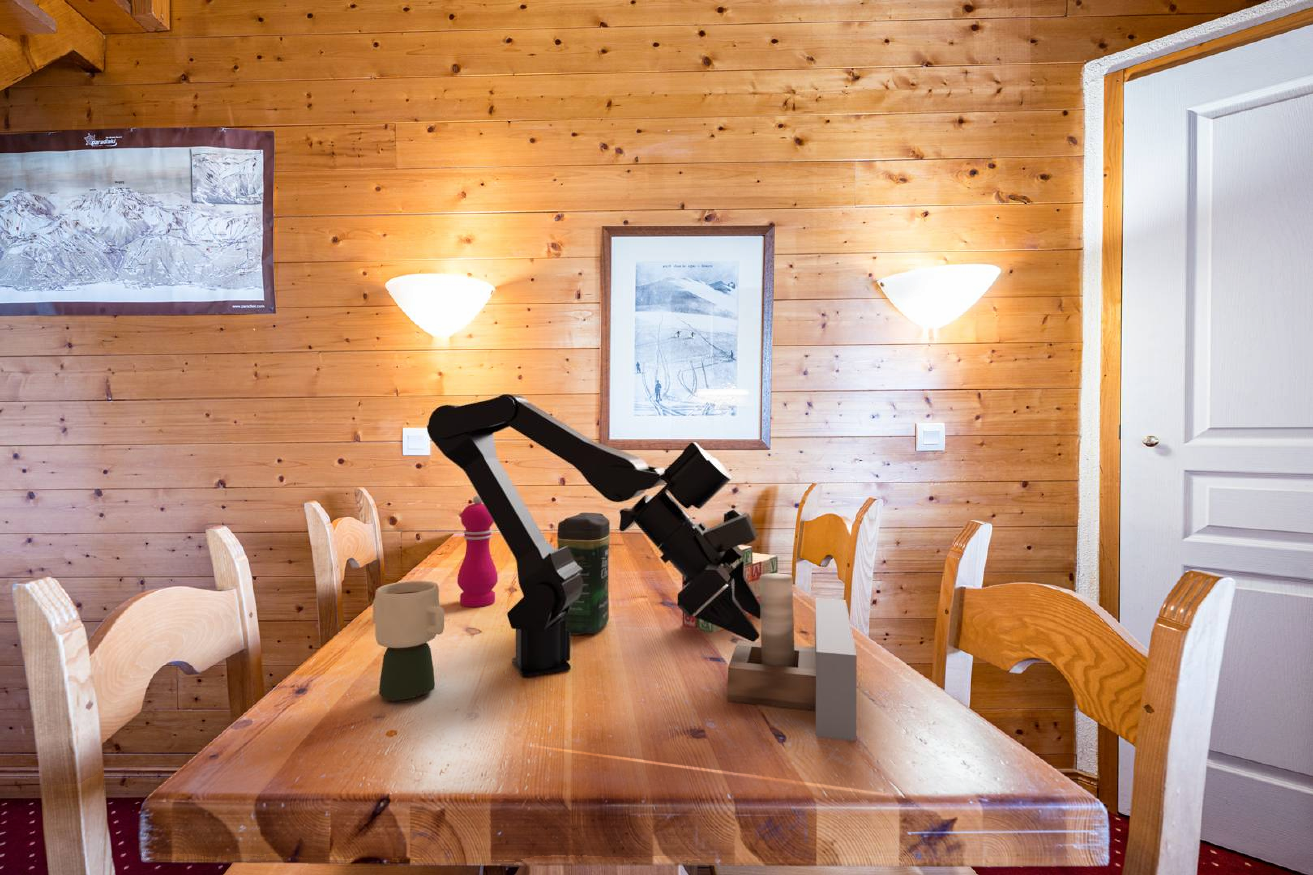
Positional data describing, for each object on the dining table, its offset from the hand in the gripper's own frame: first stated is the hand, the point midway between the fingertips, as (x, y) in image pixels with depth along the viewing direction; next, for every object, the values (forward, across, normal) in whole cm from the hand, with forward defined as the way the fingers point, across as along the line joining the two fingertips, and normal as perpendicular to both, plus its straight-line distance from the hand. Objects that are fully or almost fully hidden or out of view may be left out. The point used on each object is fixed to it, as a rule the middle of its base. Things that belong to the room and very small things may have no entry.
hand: (760, 627), depth 77 cm
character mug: (-23, -12, +35) cm, 44 cm away
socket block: (+7, 0, +4) cm, 8 cm away
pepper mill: (-32, +26, +44) cm, 61 cm away
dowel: (+6, 0, +3) cm, 7 cm away
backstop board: (+12, 0, -1) cm, 12 cm away
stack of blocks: (+1, +31, +11) cm, 33 cm away
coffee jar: (-15, +18, +27) cm, 36 cm away
